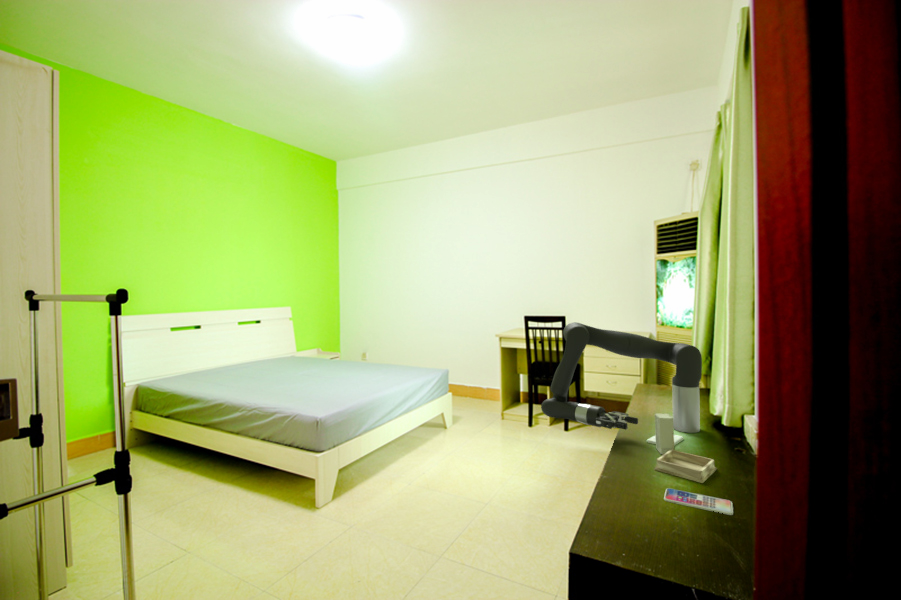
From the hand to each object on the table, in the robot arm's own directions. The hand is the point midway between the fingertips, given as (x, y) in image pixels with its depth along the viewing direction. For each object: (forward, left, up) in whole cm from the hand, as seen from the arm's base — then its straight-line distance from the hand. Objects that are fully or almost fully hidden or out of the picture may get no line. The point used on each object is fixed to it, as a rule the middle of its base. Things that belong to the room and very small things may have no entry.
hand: (632, 423), depth 149 cm
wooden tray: (+11, +21, -7) cm, 24 cm away
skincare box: (0, +11, -7) cm, 13 cm away
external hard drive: (-11, +7, -8) cm, 15 cm away
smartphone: (+30, +30, -8) cm, 43 cm away
